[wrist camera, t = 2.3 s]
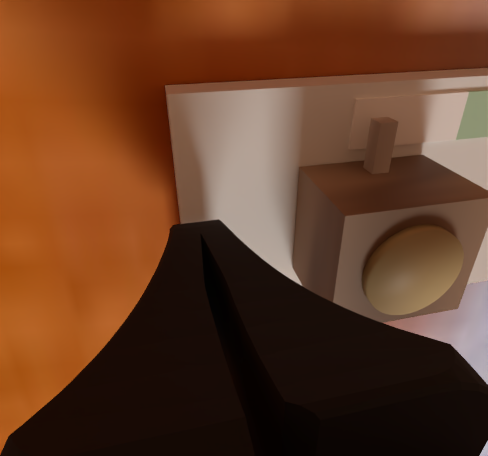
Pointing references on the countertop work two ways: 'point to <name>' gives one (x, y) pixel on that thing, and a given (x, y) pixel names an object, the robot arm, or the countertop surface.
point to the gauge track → (313, 143)
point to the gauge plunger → (387, 231)
